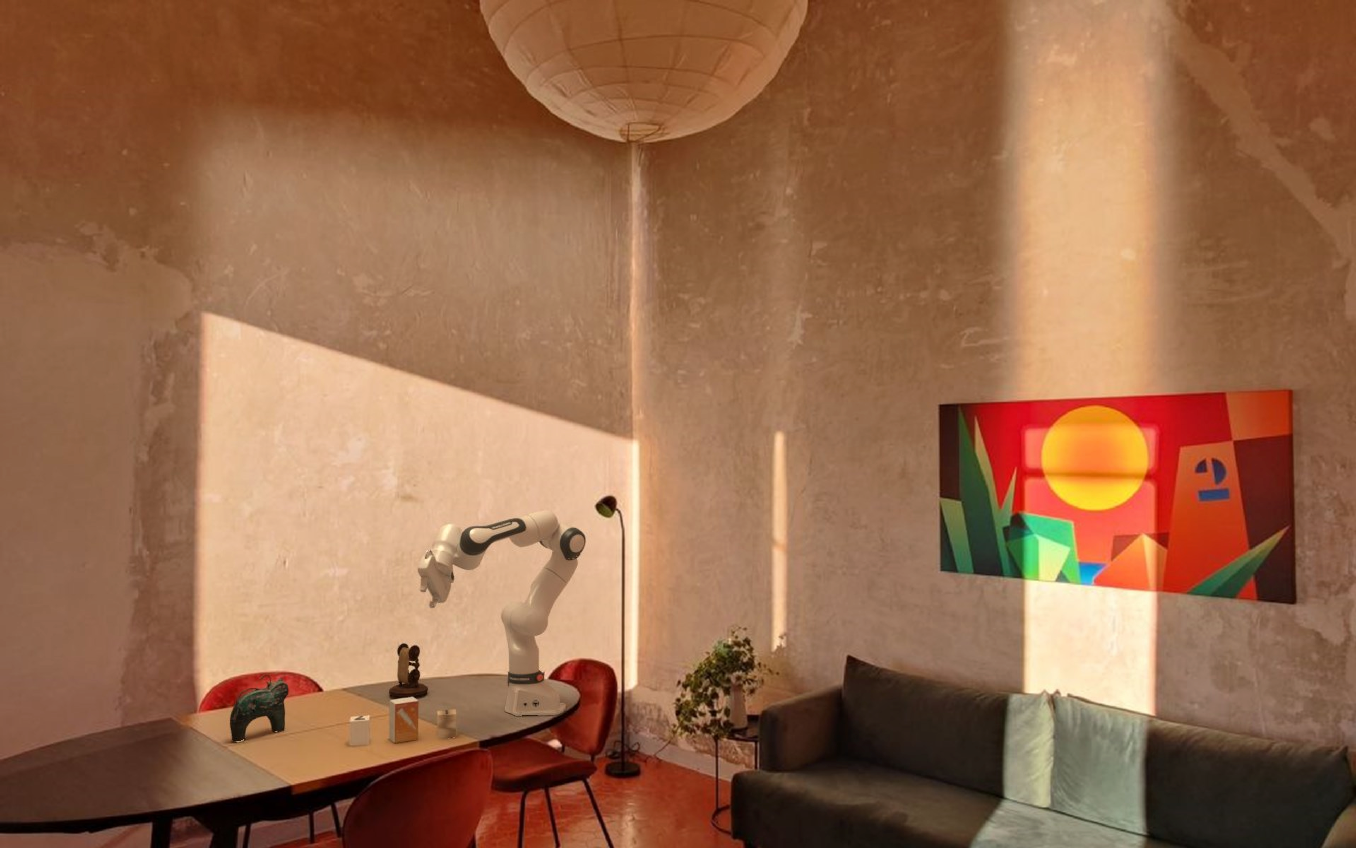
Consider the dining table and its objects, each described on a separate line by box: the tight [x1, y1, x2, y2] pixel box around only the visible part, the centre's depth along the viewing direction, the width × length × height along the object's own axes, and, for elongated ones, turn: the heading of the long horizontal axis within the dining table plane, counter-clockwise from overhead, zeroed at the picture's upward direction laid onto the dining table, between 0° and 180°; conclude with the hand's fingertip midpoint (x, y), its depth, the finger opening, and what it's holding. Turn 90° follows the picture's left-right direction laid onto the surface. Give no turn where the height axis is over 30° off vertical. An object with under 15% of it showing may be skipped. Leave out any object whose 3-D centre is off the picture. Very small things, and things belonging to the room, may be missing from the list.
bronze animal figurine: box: [229, 674, 290, 741], centre depth 326 cm, size 20×6×20 cm, turn 145°
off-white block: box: [349, 714, 371, 747], centre depth 318 cm, size 6×6×8 cm
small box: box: [388, 696, 420, 744], centre depth 321 cm, size 8×6×13 cm
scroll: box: [388, 642, 429, 698], centre depth 379 cm, size 15×15×20 cm
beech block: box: [436, 708, 457, 740], centre depth 325 cm, size 6×6×8 cm
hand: (427, 599), depth 323 cm, fingers open, 8 cm apart
